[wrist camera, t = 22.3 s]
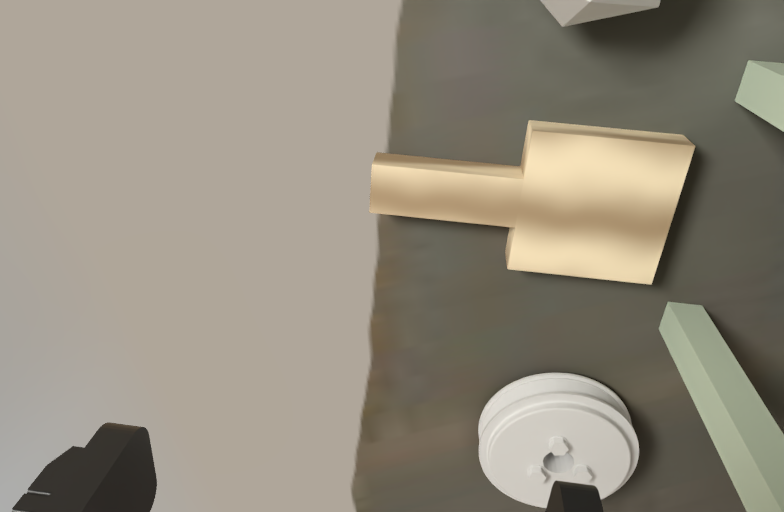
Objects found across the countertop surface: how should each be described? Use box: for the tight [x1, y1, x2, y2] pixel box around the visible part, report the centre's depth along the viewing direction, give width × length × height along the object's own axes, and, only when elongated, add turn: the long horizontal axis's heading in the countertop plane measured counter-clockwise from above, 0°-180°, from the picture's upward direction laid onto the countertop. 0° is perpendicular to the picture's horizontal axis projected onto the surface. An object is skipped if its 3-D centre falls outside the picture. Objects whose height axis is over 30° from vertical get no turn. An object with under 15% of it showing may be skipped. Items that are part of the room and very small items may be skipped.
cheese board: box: [369, 120, 695, 285], centre depth 41 cm, size 10×20×2 cm, turn 86°
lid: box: [478, 373, 639, 508], centre depth 50 cm, size 13×13×5 cm
